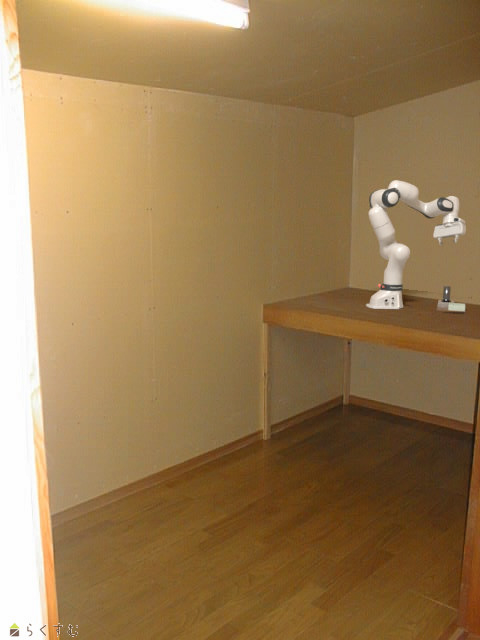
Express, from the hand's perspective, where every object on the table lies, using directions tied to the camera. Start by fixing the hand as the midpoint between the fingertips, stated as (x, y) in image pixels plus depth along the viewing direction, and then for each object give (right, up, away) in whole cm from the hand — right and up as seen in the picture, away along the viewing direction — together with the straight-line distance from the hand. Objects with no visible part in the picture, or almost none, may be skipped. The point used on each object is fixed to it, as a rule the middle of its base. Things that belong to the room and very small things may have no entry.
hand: (448, 243), depth 361 cm
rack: (0, -40, -14) cm, 43 cm away
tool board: (-1, -41, -9) cm, 42 cm away
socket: (-2, -38, -3) cm, 38 cm away
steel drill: (-2, -38, -3) cm, 38 cm away
